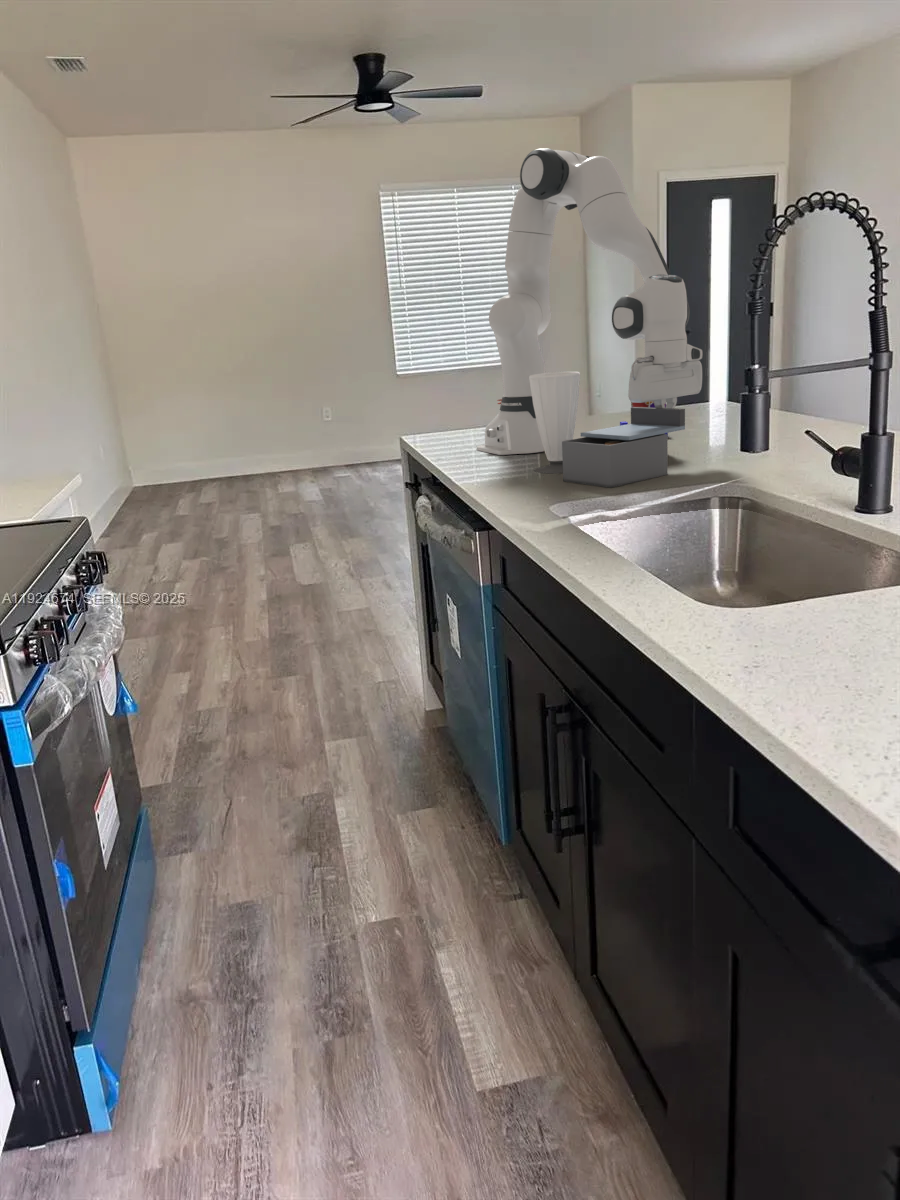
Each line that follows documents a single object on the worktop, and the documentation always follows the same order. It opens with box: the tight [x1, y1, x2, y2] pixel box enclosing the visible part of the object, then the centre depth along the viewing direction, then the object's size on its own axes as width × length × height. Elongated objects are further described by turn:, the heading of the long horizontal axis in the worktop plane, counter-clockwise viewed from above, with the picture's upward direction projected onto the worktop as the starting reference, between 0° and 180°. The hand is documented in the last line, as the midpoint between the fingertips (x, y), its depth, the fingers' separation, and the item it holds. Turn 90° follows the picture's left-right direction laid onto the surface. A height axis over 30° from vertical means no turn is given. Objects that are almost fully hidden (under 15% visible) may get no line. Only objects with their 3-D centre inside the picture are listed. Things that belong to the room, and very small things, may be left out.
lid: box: [580, 407, 686, 440], centre depth 185 cm, size 14×17×4 cm
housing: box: [562, 433, 669, 489], centre depth 184 cm, size 14×17×8 cm
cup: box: [529, 371, 581, 475], centre depth 197 cm, size 12×12×22 cm
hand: (665, 419), depth 190 cm, fingers closed
